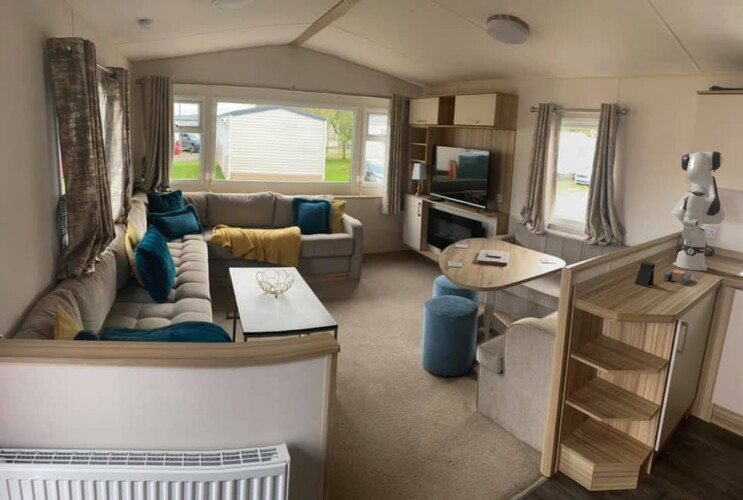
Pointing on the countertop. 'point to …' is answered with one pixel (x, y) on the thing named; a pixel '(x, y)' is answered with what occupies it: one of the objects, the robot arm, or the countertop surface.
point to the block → (677, 275)
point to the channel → (683, 279)
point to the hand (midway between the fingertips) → (688, 244)
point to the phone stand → (645, 274)
